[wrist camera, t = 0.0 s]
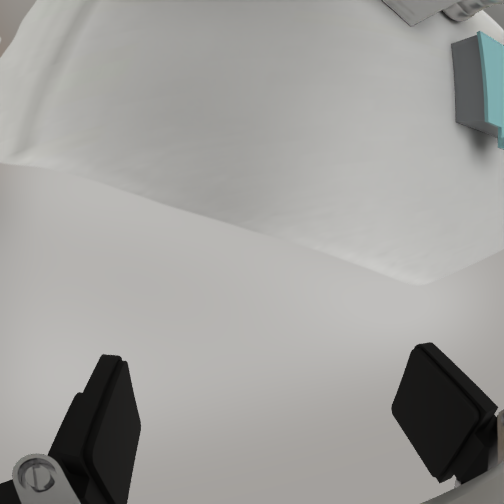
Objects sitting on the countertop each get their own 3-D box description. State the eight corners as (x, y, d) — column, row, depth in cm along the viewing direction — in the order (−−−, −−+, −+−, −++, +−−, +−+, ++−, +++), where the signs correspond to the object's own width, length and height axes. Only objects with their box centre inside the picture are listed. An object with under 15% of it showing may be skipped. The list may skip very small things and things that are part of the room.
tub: (451, 44, 34) (478, 34, 28) (492, 65, 36) (518, 60, 29) (455, 122, 38) (485, 120, 32) (496, 137, 39) (524, 138, 33)
